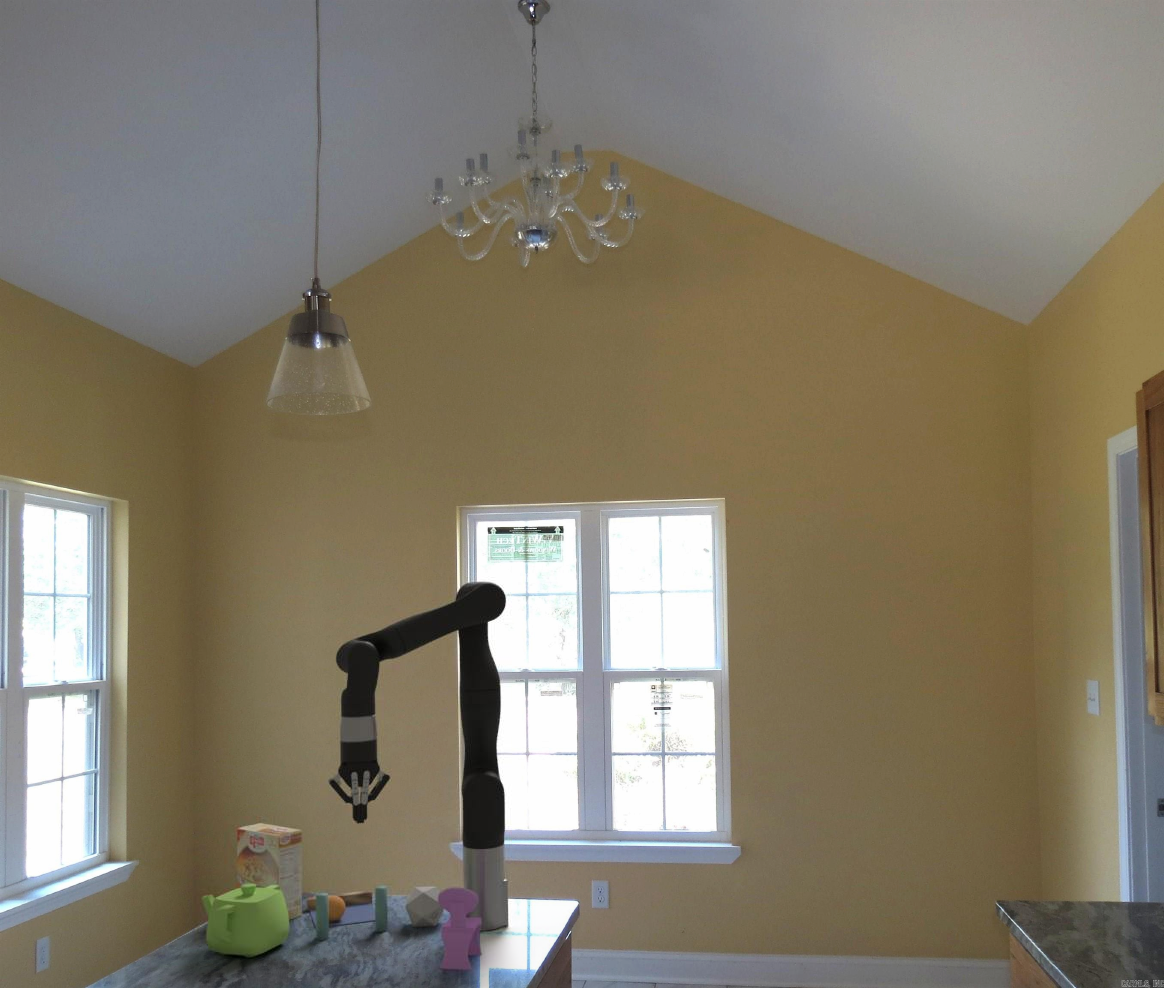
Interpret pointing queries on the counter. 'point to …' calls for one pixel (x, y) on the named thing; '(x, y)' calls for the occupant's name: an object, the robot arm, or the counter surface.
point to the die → (424, 906)
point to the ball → (336, 908)
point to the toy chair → (459, 928)
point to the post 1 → (322, 916)
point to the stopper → (345, 898)
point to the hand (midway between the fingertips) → (359, 822)
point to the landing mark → (352, 915)
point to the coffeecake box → (272, 861)
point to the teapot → (246, 920)
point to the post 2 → (381, 909)
